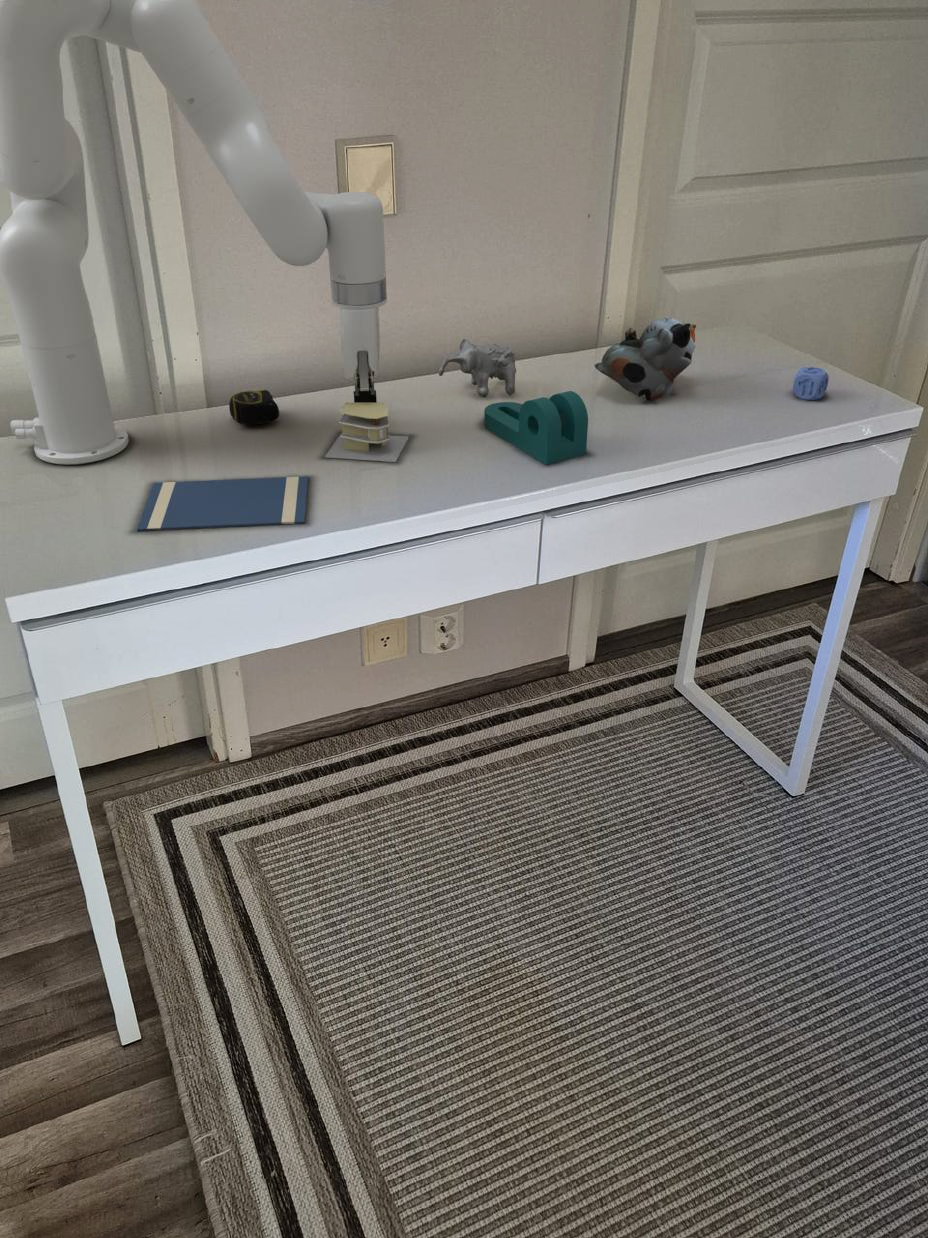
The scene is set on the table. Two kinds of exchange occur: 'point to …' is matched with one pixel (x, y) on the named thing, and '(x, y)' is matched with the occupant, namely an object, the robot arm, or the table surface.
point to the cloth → (225, 503)
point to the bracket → (542, 426)
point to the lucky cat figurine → (650, 358)
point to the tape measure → (253, 407)
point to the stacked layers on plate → (366, 434)
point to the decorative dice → (810, 383)
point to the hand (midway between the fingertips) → (366, 418)
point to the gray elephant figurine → (485, 365)
